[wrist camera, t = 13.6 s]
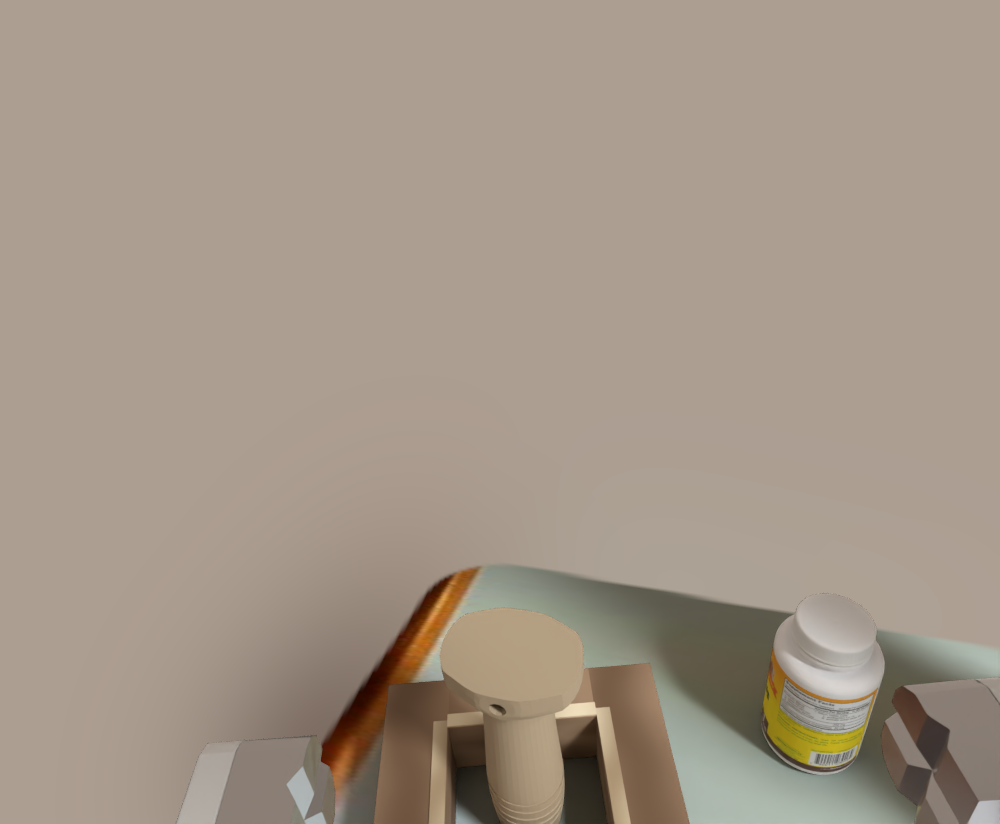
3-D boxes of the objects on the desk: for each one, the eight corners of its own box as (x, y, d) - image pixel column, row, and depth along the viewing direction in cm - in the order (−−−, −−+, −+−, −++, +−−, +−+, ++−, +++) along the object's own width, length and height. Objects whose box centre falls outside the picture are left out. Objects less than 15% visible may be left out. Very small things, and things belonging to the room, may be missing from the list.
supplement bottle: (787, 679, 47) (811, 565, 41) (874, 733, 43) (913, 617, 38) (740, 737, 44) (759, 623, 38) (830, 800, 40) (866, 685, 35)
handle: (489, 773, 43) (461, 599, 35) (596, 798, 41) (592, 621, 33) (464, 856, 39) (424, 683, 31) (580, 888, 37) (571, 713, 29)
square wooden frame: (647, 703, 46) (649, 662, 44) (708, 963, 34) (715, 924, 32) (399, 724, 46) (388, 684, 44) (375, 988, 35) (358, 952, 32)
